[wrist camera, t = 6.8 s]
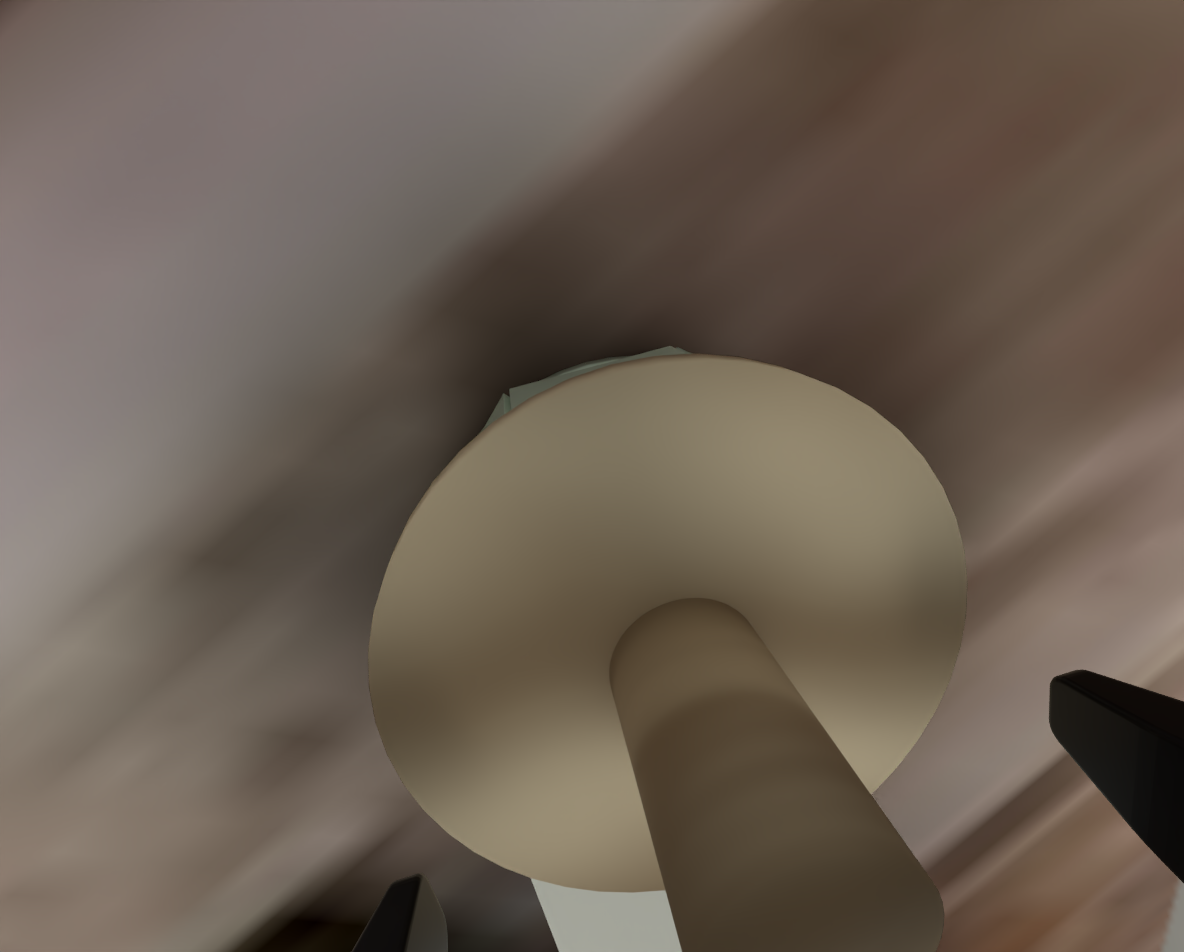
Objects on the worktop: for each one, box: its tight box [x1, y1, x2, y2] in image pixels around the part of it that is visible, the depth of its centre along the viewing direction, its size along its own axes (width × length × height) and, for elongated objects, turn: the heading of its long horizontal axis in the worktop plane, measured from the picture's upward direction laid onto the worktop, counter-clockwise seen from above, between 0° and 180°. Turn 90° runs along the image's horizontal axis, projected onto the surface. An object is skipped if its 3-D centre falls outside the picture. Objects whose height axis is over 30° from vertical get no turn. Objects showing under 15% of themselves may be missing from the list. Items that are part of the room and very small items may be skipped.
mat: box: [531, 878, 682, 952], centre depth 20 cm, size 11×11×1 cm
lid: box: [368, 353, 968, 952], centre depth 9 cm, size 11×11×6 cm
